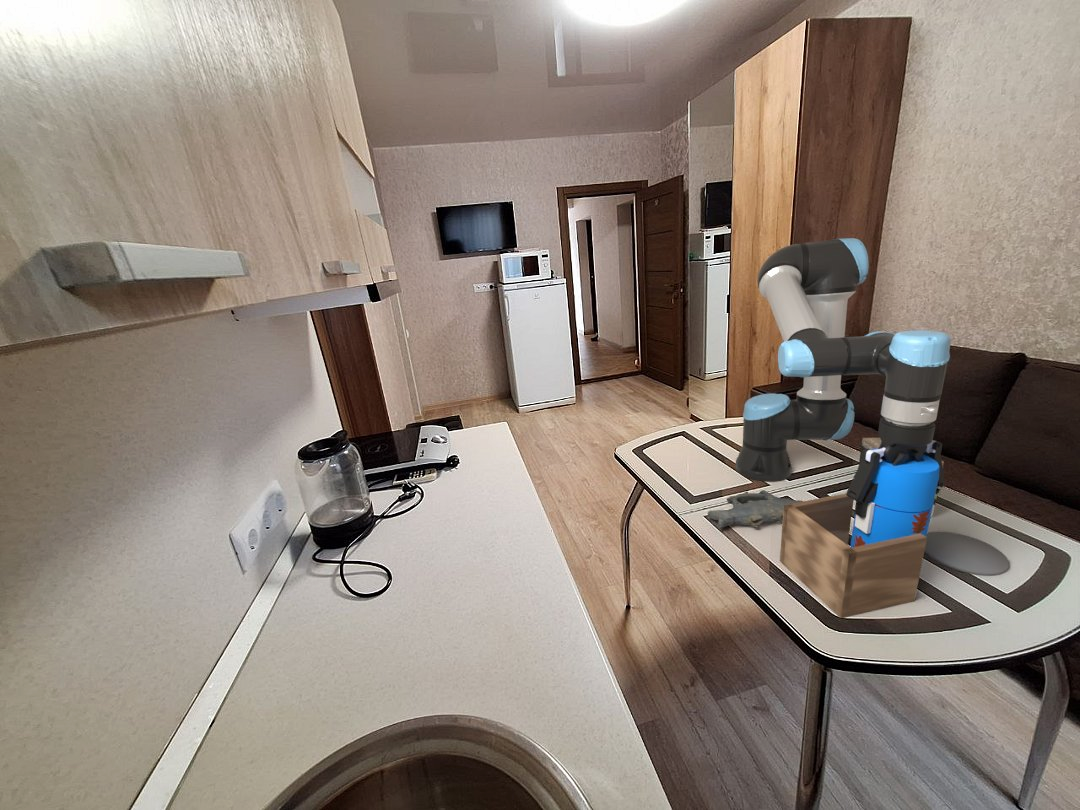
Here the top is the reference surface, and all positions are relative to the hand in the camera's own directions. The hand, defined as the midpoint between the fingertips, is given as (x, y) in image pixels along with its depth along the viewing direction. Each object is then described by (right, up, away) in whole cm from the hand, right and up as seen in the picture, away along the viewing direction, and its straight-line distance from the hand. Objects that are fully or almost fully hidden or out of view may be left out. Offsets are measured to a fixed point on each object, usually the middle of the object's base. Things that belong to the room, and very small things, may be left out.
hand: (889, 524), depth 81 cm
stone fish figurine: (-13, -5, +26) cm, 30 cm away
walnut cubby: (-8, -12, +3) cm, 14 cm away
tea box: (+22, -1, +25) cm, 33 cm away
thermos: (+1, -11, +3) cm, 11 cm away
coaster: (+20, -8, +5) cm, 22 cm away
